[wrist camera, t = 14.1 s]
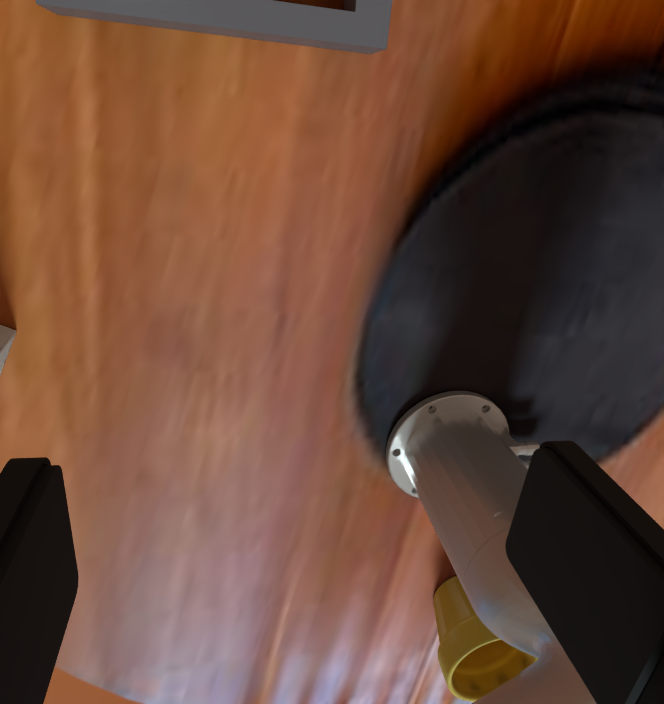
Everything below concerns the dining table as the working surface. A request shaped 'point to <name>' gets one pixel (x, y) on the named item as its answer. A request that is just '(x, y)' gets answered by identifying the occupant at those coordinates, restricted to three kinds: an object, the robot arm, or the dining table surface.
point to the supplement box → (5, 343)
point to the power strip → (249, 19)
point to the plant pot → (471, 647)
